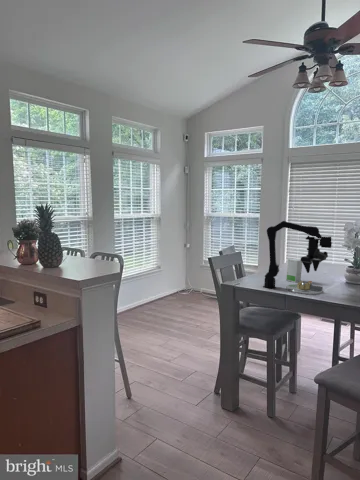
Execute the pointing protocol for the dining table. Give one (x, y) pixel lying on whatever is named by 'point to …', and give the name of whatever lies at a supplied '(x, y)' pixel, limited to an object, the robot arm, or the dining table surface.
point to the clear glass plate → (302, 291)
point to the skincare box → (294, 270)
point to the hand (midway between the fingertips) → (311, 271)
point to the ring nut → (308, 286)
